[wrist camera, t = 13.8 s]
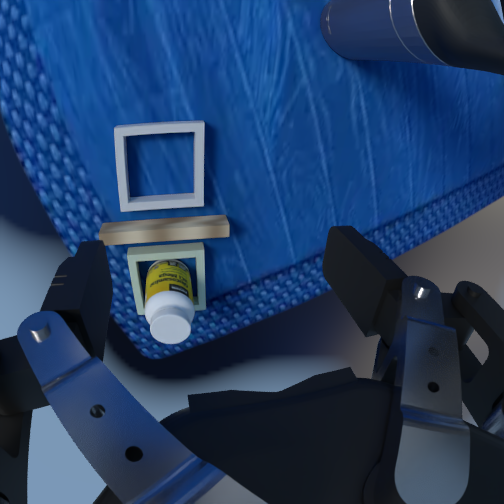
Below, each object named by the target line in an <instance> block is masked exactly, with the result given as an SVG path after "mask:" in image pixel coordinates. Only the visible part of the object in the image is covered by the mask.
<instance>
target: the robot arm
mask: <svg viewBox="0 0 504 504" xmlns="http://www.w3.org/2000/svg"><path fill="white" fill-rule="evenodd" d="M500 2H501V7H502V12H503V18H504V0H500ZM320 21H321V30H322V34H323V36H324V38H325V40H326V42H327V43H328V45H329V46H330V47H331V48H332V49H333V50H334V51H335V52H336V53H338V54H339V55H341V56H343V57H345V58H347V59H351V60H373V61H398V62H413V63H424V64H435V65H444V66H452V67H459V68H467V69H474V70H481V71H487V72H492V73H496V74H501V75H504V24H503V22H502V21H501V19H500V17H499V15H498V13H497V11H496V9H495V7H494V5H493V3H492V1H491V0H331V1H330V2H329V3H328V4H327V5H326V6H325V7H324V9H323V12H322V14H321V20H320ZM323 274H324V277H325V279H326V280H327V282H328V283H329V285H330V286H331V288H332V289H333V290H334V292H335V293H336V295H337V296H338V298H339V299H340V300H341V302H342V303H343V305H344V306H345V307H346V309H347V310H348V312H349V313H350V315H351V316H352V318H353V319H354V321H355V322H356V323H357V325H358V327H359V328H360V329H361V331H362V332H363V334H364V335H365V337H369V336H373V335H377V334H379V335H380V336H381V337H380V340H379V342H378V345H377V351H376V357H375V363H374V367H373V373H372V378H371V379H367V378H356V376H355V374H354V373H353V371H352V369H351V368H350V367H348V368H344V369H340V370H336V371H332V372H327V373H323V374H318V375H314V376H312V377H311V378H308V379H306V380H304V381H302V382H300V383H298V384H295V385H293V386H291V387H289V388H287V389H284V390H282V391H279V392H256V391H238V390H228V391H219V392H211V393H202V394H192V395H188V401H189V407H188V408H185V409H182V410H180V411H178V412H175V413H173V414H171V415H170V416H168V417H166V418H164V419H163V420H161V421H160V422H158V421H157V420H156V419H155V418H154V417H153V416H152V415H151V414H150V413H149V412H148V411H147V410H146V409H145V408H144V407H143V406H142V405H141V404H140V403H139V402H138V401H137V400H136V399H135V398H134V397H133V396H132V395H131V394H130V392H129V391H128V390H127V389H126V388H125V387H124V386H123V385H122V384H121V383H120V382H119V380H118V379H117V378H116V377H115V376H114V375H113V374H112V373H111V371H110V370H109V369H108V368H107V367H106V366H105V365H104V363H103V356H104V348H105V341H106V334H107V326H108V320H109V314H110V308H111V302H112V295H113V288H112V279H111V274H110V270H109V265H108V260H107V255H106V249H105V245H104V242H103V240H96V241H84V242H81V243H80V246H79V248H78V250H77V253H76V255H75V257H68V258H67V259H66V260H65V261H64V262H63V263H62V264H61V265H60V266H59V267H58V270H57V272H56V274H55V278H53V281H52V283H51V286H50V288H49V290H48V293H47V295H46V297H45V300H44V302H43V305H42V307H41V310H40V312H37V313H34V314H32V315H30V316H29V317H27V318H26V319H25V320H24V321H23V322H22V323H21V324H20V326H19V328H18V331H17V335H16V336H13V337H9V338H5V339H2V340H0V504H27V471H28V451H29V439H30V428H31V419H32V411H33V409H37V408H41V407H44V406H48V405H51V407H52V408H53V410H54V412H55V413H56V415H57V417H58V418H59V420H60V421H61V423H62V424H63V426H64V428H65V429H66V431H67V432H68V434H69V435H70V436H71V438H72V439H73V441H74V442H75V443H76V445H77V447H78V448H79V449H80V451H81V452H82V453H83V455H84V456H85V458H86V459H87V460H88V462H89V463H90V464H91V466H92V467H93V468H94V469H95V471H96V472H97V473H98V474H99V476H100V477H101V478H102V479H103V481H104V482H105V483H106V484H107V486H106V487H105V488H104V490H103V491H102V492H101V494H100V495H99V496H98V497H97V499H96V500H95V501H94V502H93V504H504V310H503V309H502V308H501V307H500V306H499V304H497V302H496V301H495V300H494V299H492V297H491V296H490V295H489V294H488V293H487V292H486V291H485V290H484V289H483V288H481V287H480V286H478V285H477V284H475V283H472V282H469V281H461V282H459V283H458V284H457V286H456V288H455V291H454V293H453V294H452V293H441V292H440V290H439V288H438V287H437V286H436V285H435V284H434V283H433V282H431V281H429V280H428V279H425V278H422V277H419V276H407V275H406V274H405V273H404V272H403V271H402V270H401V269H400V268H399V267H398V266H397V265H396V264H395V263H394V262H393V261H392V260H391V259H389V257H388V256H387V255H386V254H385V253H383V251H382V250H381V249H380V248H379V247H378V246H377V245H375V244H374V243H372V242H371V241H369V240H367V239H365V238H364V237H363V236H362V235H361V234H360V233H359V232H358V231H357V230H356V229H355V228H353V227H352V226H333V227H331V228H330V230H329V233H328V238H327V243H326V249H325V254H324V259H323ZM474 329H475V331H477V333H478V334H479V335H480V336H481V338H482V339H483V340H484V341H485V343H486V344H487V346H488V348H489V356H488V358H487V360H486V361H485V363H484V364H483V366H482V365H481V363H480V362H479V361H478V359H477V358H476V357H475V355H474V354H473V353H472V351H471V350H470V349H469V347H468V346H467V345H466V343H467V341H468V339H469V338H470V336H471V334H472V332H473V331H474ZM462 401H463V403H464V404H465V406H466V407H467V409H468V410H469V412H470V414H471V415H472V417H473V419H474V420H475V422H476V423H477V425H478V427H476V426H475V425H472V424H470V423H468V422H466V421H464V420H463V419H462Z"/></svg>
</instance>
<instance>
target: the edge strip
mask: <svg viewBox="0 0 504 504" xmlns="http://www.w3.org/2000/svg"><path fill="white" fill-rule="evenodd" d="M218 237H229V223H228V220H227V218H226V215H216V216H198V217H181V218H166V219H151V220H138V221H125V222H113V223H103V224H102V227H101V229H100V232H99V239H100V240H103V242H104V245H118V244H131V243H144V242H158V241H173V240H187V239H202V238H218Z"/></svg>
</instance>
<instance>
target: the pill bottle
mask: <svg viewBox="0 0 504 504" xmlns="http://www.w3.org/2000/svg"><path fill="white" fill-rule="evenodd" d="M144 310H145V317H146V319H147V321H148V323H149V324H150V331H151V334H152V336H153V337H154V338H155V339H156V340H158V341H160V342H162V343H166V344H175V343H179V342H182V341H183V340H185V339H186V338H187V337H188V336H189V334H190V332H191V322H192V320H193V318H194V313H195V308H194V301H193V293H192V285H191V277H190V273H189V270H188V268H187V267H186V266H185V265H184V264H183V263H182V262H180V261H178V260H176V259H164V260H158V261H156V262H155V263H153V264H152V265H151V267H150V268H149V270H148V273H147V278H146V292H145V308H144Z"/></svg>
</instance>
